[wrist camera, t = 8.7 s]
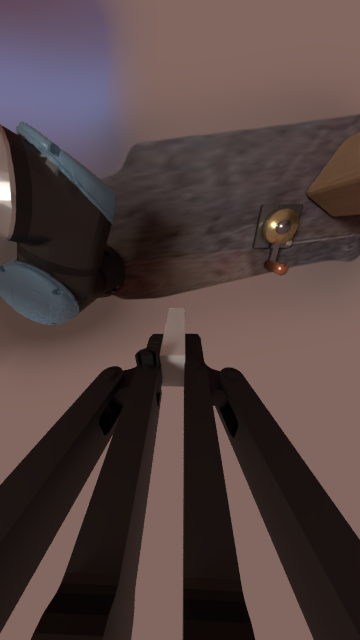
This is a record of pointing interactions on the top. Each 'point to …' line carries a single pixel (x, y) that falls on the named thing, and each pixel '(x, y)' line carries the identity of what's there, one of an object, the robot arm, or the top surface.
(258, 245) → the level base
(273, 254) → the crank handle
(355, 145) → the wooden block
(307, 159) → the top surface
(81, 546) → the robot arm
